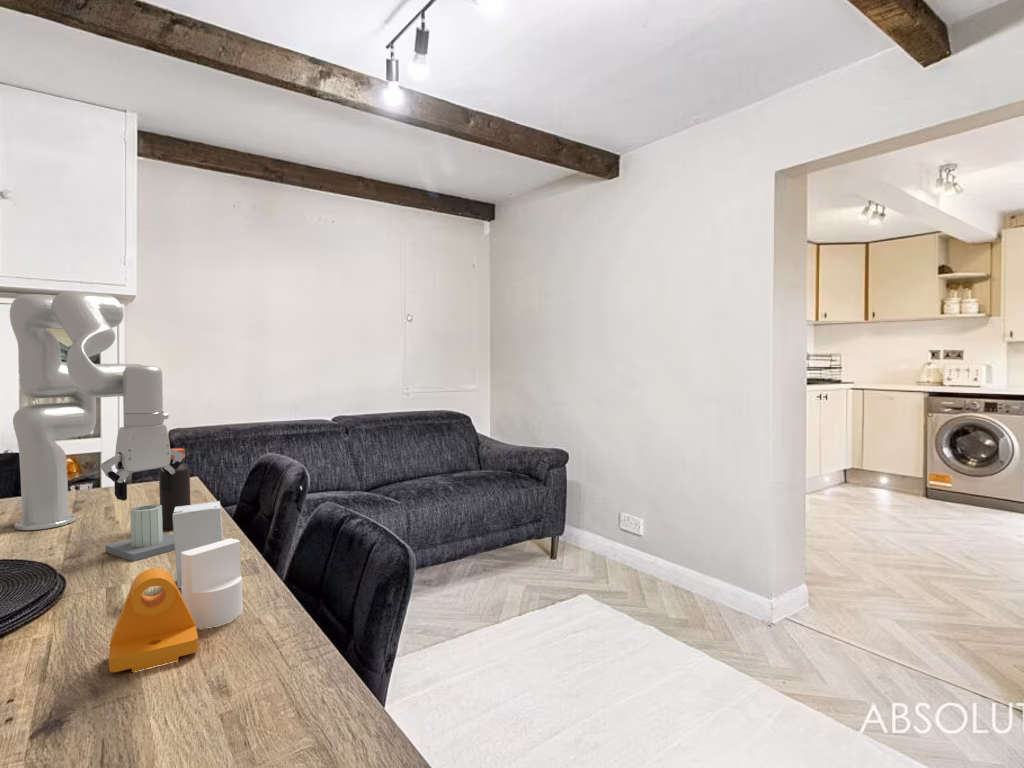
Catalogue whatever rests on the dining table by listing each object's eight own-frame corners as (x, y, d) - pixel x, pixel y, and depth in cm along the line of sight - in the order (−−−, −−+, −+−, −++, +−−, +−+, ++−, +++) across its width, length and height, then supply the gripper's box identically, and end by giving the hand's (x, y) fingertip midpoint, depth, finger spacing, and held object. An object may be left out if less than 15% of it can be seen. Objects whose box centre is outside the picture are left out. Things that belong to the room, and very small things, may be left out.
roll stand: (105, 551, 130) (104, 516, 129) (160, 537, 140) (159, 504, 140) (133, 561, 124) (132, 524, 123) (189, 545, 134) (188, 511, 134)
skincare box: (224, 572, 117) (222, 500, 117) (224, 582, 112) (222, 506, 111) (177, 579, 114) (174, 504, 113) (174, 590, 108) (172, 512, 108)
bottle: (154, 528, 147) (152, 450, 146) (178, 521, 154) (176, 447, 153) (173, 531, 145) (170, 452, 144) (197, 524, 151) (195, 448, 150)
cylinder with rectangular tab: (201, 634, 91) (199, 559, 90) (171, 620, 96) (169, 549, 95) (253, 613, 99) (252, 543, 98) (223, 601, 103) (221, 535, 103)
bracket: (109, 679, 78) (106, 592, 78) (111, 656, 84) (108, 575, 84) (199, 657, 84) (196, 576, 84) (194, 637, 90) (192, 561, 90)
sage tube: (126, 543, 131) (125, 508, 130) (154, 536, 136) (152, 503, 136) (140, 548, 128) (139, 512, 127) (168, 540, 133) (167, 506, 132)
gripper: (173, 415, 140) (174, 485, 141) (92, 422, 125) (93, 500, 126) (190, 418, 136) (191, 489, 137) (109, 425, 121) (111, 505, 122)
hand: (144, 494), depth 132 cm, fingers open, 9 cm apart
